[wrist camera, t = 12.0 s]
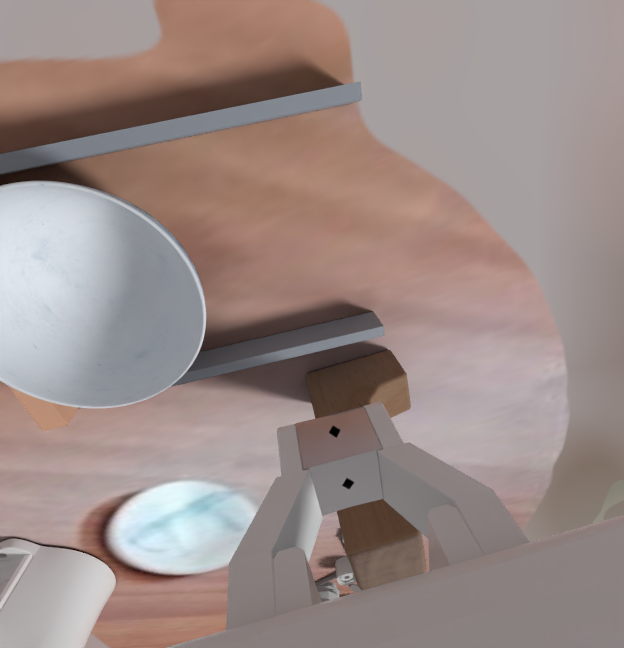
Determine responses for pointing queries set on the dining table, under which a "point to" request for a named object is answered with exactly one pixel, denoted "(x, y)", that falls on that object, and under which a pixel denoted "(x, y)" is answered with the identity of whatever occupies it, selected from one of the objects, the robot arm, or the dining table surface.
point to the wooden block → (378, 516)
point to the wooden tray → (203, 123)
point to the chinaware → (92, 297)
